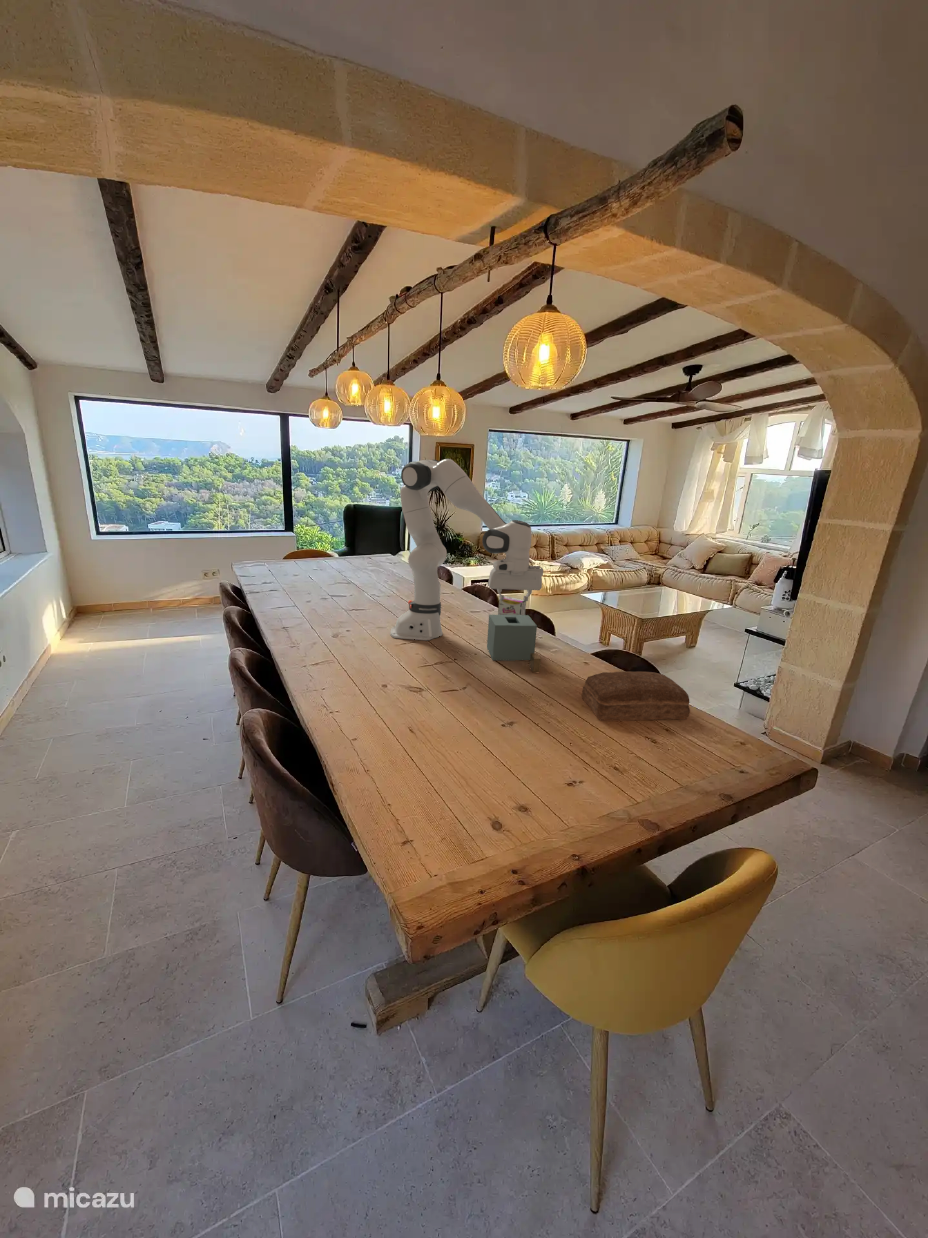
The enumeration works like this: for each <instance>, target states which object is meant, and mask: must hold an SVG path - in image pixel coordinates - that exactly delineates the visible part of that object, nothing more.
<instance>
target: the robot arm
mask: <svg viewBox="0 0 928 1238" xmlns="http://www.w3.org/2000/svg"><path fill="white" fill-rule="evenodd" d="M400 479H401V482H402V484H403V485H402V487H401V488H400V491H399V492H400V493H399V494H400V496H399V497H400V503H401V504H400V505H401V510H402V513H403V517H404V522H405V525H406V530H407V532H408V534H409V535H410V536H411V538H412V540H413V542H414V544H415V546H416V547H415V548H414V549H413V550H412V551H411V552H410V553H409V555H408V557H407V558H408V559H407V560H408V566H409V567H410V569H411V572H412V577H413V578H412V579H413V586H414V587H413V589H414V592H413V595H414V596H413V600H412V599H410V600H408V602H407V604H408V610H406V611H405V612H404V613H403V614H400V616H398V617H397V619H396V623H395V626H393V627H391V629H390V634H389V635H390V636H391V638H394V639H400V640H401V639H402V640H414V639H415V641H418V640H419V641H431V640H433V639H435V638H436V639H437V638H439V636H440V637H441V636H443V629H442V623H441V613H442V602H441V588H442V587H441V582H440V579H439V573H438V568H439V567H441V566H442V565H443V563H444V562H445V560H446V559H447V555H448V553H447V549H446V547H445V545H444V544H443V542H442V539H440V535H439V533H438V531H437V528H436V526H435V524H434V519H433V515H432V511H431V508H430V503H429V500H428V499H429V498H428V494H429V492H433V491H435V490H436V489H437V488H439V489H440V490H441V491H442V492H443V494H444V495H445V497H446V498H447V500H448V501H450V503H451V505H454V507H455V508H457V509H459V510H463V511H467V512H469V513H472V514H474V515H475V516H477V517H478V518H479V519H480V520H481V522H483V524H484V525H485V526H486V527H487V528H488V529H487V530H486V531H485V532H484V533H483V535H482V541H481V542H482V546H483V548H484V550H485V551H486V552H488V553H490V554H494V555H495V554H502V553H503V554H505V558H502V559H500V560H496V561H494V562H493V563H492V567H493V568H491V570H490V572H489V577H488V587H489V589H492V590H496V591H497V593H498V595H499V599H498V601H499V600H504V596H505V595H504V594H502V592H503V591H502V590H515V591H516V590H518V591H519V590H520V591H521V590H522V591H526V592H527V593H526V594H525V595H523V599H522V600H524V601H526V602H529V597H530V596H531V595H532V593H533V591H540V590H541V589H542V588H543V587H542V586H543V575H544V568H543V567H541V566H540V565H532V564H531V565H530V549H531V547H532V536H533V535H532V526H531V525H530V524H529V523H528V522H525V521H522V520H517V519H512V520H510V522H508V523H507V522H505V520H503V518H502V517H501V516H500V515H499V514H498V513H497V512H496V510H495V509H494V508H493V506H492V505H491V504H490V503H489V502H488V501H487V500H486V499H485V497H484V496H483V495H482V494H481V493H480V491H479V490H478V489H477V487H476V485H475V484H474V483H473V482H472V480H471V478H469V476H468V474H467V473H466V472H465V471H464V470H463V468H461V466H460V465H458V463H456V462H455V461H454V460H453V459H451V458H445V459H441V460H437V459H421V460H417V461H416V460H415V461H410V462H408V463H406V464H405V465H404V466H403V467H402V470H401V474H400Z"/></svg>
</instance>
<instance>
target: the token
mask: <svg viewBox="0 0 928 1238" xmlns="http://www.w3.org/2000/svg"><path fill="white" fill-rule="evenodd" d="M541 662H542V658H541V657H540V655H539V654H538V653H537V652H534V653H531V655H530V661H529V669H530V668H531V669H530V671H531V672H532V671H533V672H541V665H542V664H541ZM533 672H532V673H533Z"/></svg>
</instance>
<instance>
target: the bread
mask: <svg viewBox="0 0 928 1238" xmlns="http://www.w3.org/2000/svg"><path fill="white" fill-rule="evenodd" d="M584 682H585V683H584V685H583V686H582V690H581V698H582V699H583V701H584V702H585V703H586V704H587V705H588V707H589V708H590V709H591V710H592V712H593V714H594V715H595V716H596V717H597V718H598V719H599V720H600V721H606V722H607V721H612V722H613V721H615V722H616V721H643V720H644V721H648V720H649V721H651V720H670V719H671V720H673V719H674V720H683V721H684V720H687V719H688V718H689V716H690V711H691V709H690V705H689V704H690V696H689V694H688V692H687V691H686V690H685V689H684V688H683V687H681V686H680V685H679V684H678V683H677V682H675V681H674V680H673V679H671V678H670V677H668V676H666V675H664V674H663V673H657V672H652V671H628V670H627V671H614V672H600V673H597V674H596V673H595V674H593V675H590V676H588V677H587V678H586V680H585V681H584Z"/></svg>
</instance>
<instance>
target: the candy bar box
mask: <svg viewBox="0 0 928 1238" xmlns="http://www.w3.org/2000/svg"><path fill="white" fill-rule="evenodd" d="M526 607H527V601H524V600H523V599H521V598H516V597H511V596H506V595H504V600H499V599H498V611H497V615H526Z"/></svg>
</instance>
